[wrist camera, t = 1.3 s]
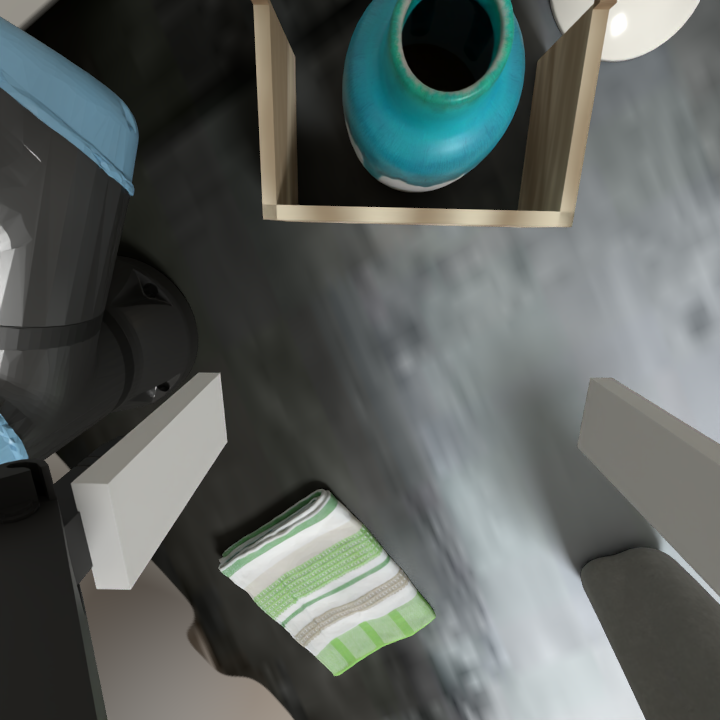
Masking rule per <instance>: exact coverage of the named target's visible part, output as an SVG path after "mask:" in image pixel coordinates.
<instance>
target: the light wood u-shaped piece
mask: <svg viewBox="0 0 720 720" xmlns="http://www.w3.org/2000/svg"><path fill="white" fill-rule="evenodd" d="M251 1H252V3H253V7H254V29H255V51H256V73H257V95H258V116H259V138H260V160H261V182H262V204H263V219H265V220H276V221H287V222H325V223H365V224H406V225H446V226H487V227H572V223H573V217H574V211H575V206H576V200H577V194H578V188H579V182H580V177H581V171H582V165H583V159H584V154H585V148H586V142H587V136H588V130H589V125H590V119H591V113H592V107H593V101H594V96H595V90H596V84H597V78H598V73H599V67H600V61H601V55H602V49H603V44H604V38H605V32H606V26H607V20H608V15H609V9H611V8H612V7H613V6H614V5H615V4H616V3H617V0H594V4H593V5H592V6H591V7H590V8H589V9H588V10H587V11H586V12H585V13H584V14H583V15H582V16H581V17H580V18H579V19H578V20H577V21H576V22H575V23H574V24H573V25H572V26H571V27H570V28H569V29H568V30H567V31H566V32H565V33H564V34H563V35H562V36H561V37H560V39H559V40H558V41H557V42H556V43H555V44H554V45H553V46H552V47H551V48H550V49H549V50H548V51H547V52H546V53H545V54H544V55H543V56H542V57H541V58H540V59H539V60H538V61H537V68H536V76H535V83H534V91H533V98H532V106H531V114H530V121H529V129H528V136H527V144H526V151H525V159H524V166H523V174H522V181H521V189H520V196H519V204H518V211H514V210H472V209H430V208H388V207H346V206H305V205H298V171H297V123H296V75H295V56H294V53H293V51H292V49H291V47H290V44H289V42H288V40H287V38H286V36H285V33H284V31H283V29H282V27H281V24H280V22H279V20H278V18H277V16H276V13H275V11H274V9H273V7H272V4H271V2H270V0H251Z"/></svg>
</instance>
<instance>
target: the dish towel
mask: <svg viewBox="0 0 720 720" xmlns="http://www.w3.org/2000/svg"><path fill="white" fill-rule="evenodd" d="M222 556H223V558H221V559H219V561H220V563H221V564H220V565H219V569H220V571H221V572H222V573H223V574H224V575H225V576H227V577H229V578H230V579H231V580H232V581H233V582H234V583H235V584H236V585H238V586H239V587H241V588H242V589H244V590H245V591H246V592H248V593H249V595H250V596H251V597H252V599H253V600H254V601H255V602H256V604H257V605H258V606H259V607H260V608H261V609H262V610H264V612H266V614H268V615H269V616H270V617H271V618H273V619H274V620H275V621H277V622H278V623H279V624H281V625H282V626H283V627H284V628H285V629H286V630H287V631H288V632H289V633H290V634H291V635H292V637H293V638H294V639H295V640H296V641H297V642H299V644H301V645H302V646H303V647H305V648H306V649H308V650H309V651H310V652H311V653H312V654H313V655H314V656H315V657H316V658H317V659H318V660H319V661H321V662H322V663H323V664H324V665H325V666H326V667H327V668H328V669H329V670H330V671H331V672H332V673H333V675H334V676H337V675H340V674H342V673H343V672H344V671H346V670H347V669H349V668H350V667H352V666H353V665H354V664H356V663H357V662H359V661H360V660H362V659H363V658H365V657H366V656H368V655H369V654H371V653H373V652H375V651H376V650H378V649H379V648H381V647H383V646H385V645H388V644H390V643H393V642H395V641H398V640H401V639H404V638H407V637H409V636H412V635H413V634H415V633H416V632H418V631H419V630H420V629H422V628H423V627H425V626H426V625H428V624H429V623H430V622H431V621H432V620H433V619H435V617H436V615H435V612H434V611H433V609H432V608H431V606H430V605H429V603H428V602H427V601H426V600H425V599H424V598H423V597H422V595H421V594H420V593H419V592H418V590H417V589H416V588H415V587H414V585H413V584H412V583H411V582H410V580H409V578H408V577H407V575H406V574H405V573H404V572H403V570H402V569H401V568H400V567H399V566H398V565H397V564H396V563H395V562H394V561H393V559H392V558H391V557H390V556H389V555H388V554H387V553H386V551H385V550H384V549H383V547H382V546H381V545H380V543H379V542H378V541H377V540H376V538H375V537H374V536H373V535H372V534H371V533H370V532H369V530H368V529H367V528H366V527H365V525H364V524H362V523H361V522H360V521H359V520H358V519H357V518H356V517H354V516H353V515H352V513H351V512H350V511H349V510H348V509H347V508H346V507H345V506H344V505H343V504H342V503H340V502H339V501H338V500H337V499H336V498H335V497H334V496H333V494H332V493H331V492H330V491H328V490H326V491H325V490H324V489H318V490H316V491H315V492H313V493H311V494H310V495H308V496H307V497H305V498H304V499H302V500H300V501H299V502H297V503H296V504H295V505H293V506H292V507H290V508H289V509H287V510H286V511H285V512H283V513H282V514H280V515H279V516H277V517H275V518H274V519H273V520H272V521H270V522H268V523H267V524H265V525H263V526H262V527H260V528H259V529H257V530H256V531H254V532H253V533H251V534H249V535H246V536H245V537H243V538H242V539H240V540H239V541H238V542H236V543H235V544H233V545H232V546H230V547H229V548H228V549H227V550H225V552H224V553H223V554H222Z"/></svg>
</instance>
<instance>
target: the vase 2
mask: <svg viewBox="0 0 720 720" xmlns="http://www.w3.org/2000/svg"><path fill="white" fill-rule="evenodd" d="M581 581H582V585H583V588H584V590H585V592H586V594H587V596H588V598H589V600H590V602H591V605H592V607H593V609H594V611H595V613H596V615H597V617H598V619H599V621H600V623H601V625H602V627H603V630H604V632H605V634H606V636H607V638H608V640H609V642H610V644H611V646H612V649H613V651H614V653H615V655H616V657H617V659H618V661H619V663H620V665H621V668H622V670H623V672H624V674H625V676H626V678H627V680H628V683H629V685H630V687H631V689H632V691H633V693H634V695H635V698H636V700H637V702H638V704H639V706H640V708H641V710H642V713H643V715H644V717H645V719H646V720H720V604H719V603H718V602H717V601H716V600H715V599H714V598H713V597H712V596H711V595H710V594H709V593H708V592H707V591H706V590H705V589H704V588H703V587H702V586H701V585H700V584H699V583H698V582H697V581H696V580H695V579H694V578H693V577H692V576H691V575H690V574H689V573H688V572H687V571H686V570H685V569H684V568H683V567H682V566H681V565H680V564H679V563H678V562H676V561H675V560H674V559H673V558H672V557H670V556H669V555H667V554H666V553H664V552H662V551H660V550H657V549H654V548H648V547H638V548H633V549H629V550H626V551H624V552H622V553H619V554H616V555H613V556H606V557H600V558H597V559H594V560H592V561H590V562H589V563H587V564H586V565H585V566H584V567H583V569H582V571H581Z"/></svg>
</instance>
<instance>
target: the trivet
mask: <svg viewBox="0 0 720 720" xmlns="http://www.w3.org/2000/svg"><path fill="white" fill-rule="evenodd" d="M699 2H700V0H617V3H616V4H615V5H614V6H613V7H612V8H611V9H609V15H608V20H607V26H606V32H605V38H604V44H603V49H602V55H601V61H604V62H622V61H627V60H631V59H634V58H637V57H640V56H642V55H644V54H646V53H648V52H650V51H652V50H653V49H655V48H657V47H658V46H660V45H661V44H663V43H664V42H666V41H667V40H668V39H669V38H670V37H672V36H673V35H674V34H675V33H676V32H677V31H678V30H679V29H680V28H681V27H682V26H683V25H684V24H685V22H686V21H687V20H688V18H689V17H690V16H691V15H692V13H693V11H694V10H695V8H696V7H697V5H698V4H699ZM593 4H594V0H550V6H551V10H552V13H553V17H554V20H555V22H556V24H557V27H558V28H559V30H560V32H561V34H562V35H563V34H564V33H565V32H566V31H567V30H568V29H569V28H570V27H571V26H572V25H573V24H574V23H575V22H576V21H577V20H578V19H579V18H580V17H581V16H582V15H583V14H584V13H585V12H586V11H587V10H588V9H589V8H590V7H591V6H592V5H593Z"/></svg>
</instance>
